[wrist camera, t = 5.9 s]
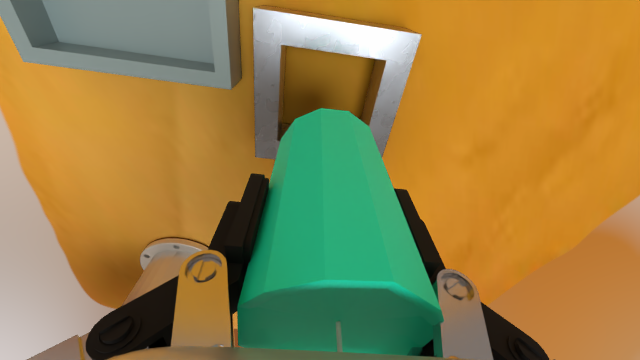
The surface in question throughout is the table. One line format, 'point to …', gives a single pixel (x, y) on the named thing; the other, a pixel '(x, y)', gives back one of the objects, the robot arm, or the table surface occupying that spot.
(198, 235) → the table surface
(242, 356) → the robot arm
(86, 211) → the table surface
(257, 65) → the holder
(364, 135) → the candle
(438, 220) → the table surface
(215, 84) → the tray
